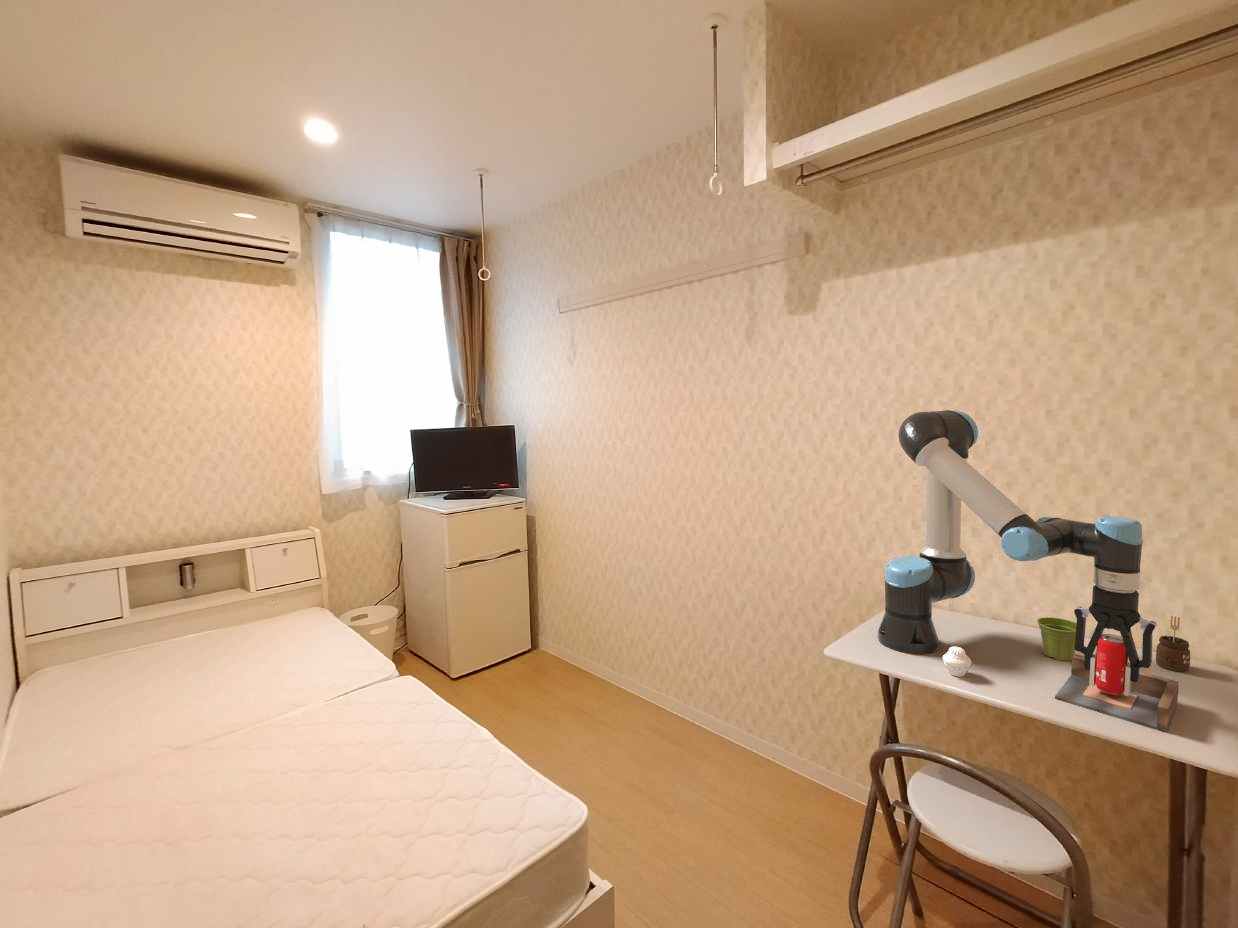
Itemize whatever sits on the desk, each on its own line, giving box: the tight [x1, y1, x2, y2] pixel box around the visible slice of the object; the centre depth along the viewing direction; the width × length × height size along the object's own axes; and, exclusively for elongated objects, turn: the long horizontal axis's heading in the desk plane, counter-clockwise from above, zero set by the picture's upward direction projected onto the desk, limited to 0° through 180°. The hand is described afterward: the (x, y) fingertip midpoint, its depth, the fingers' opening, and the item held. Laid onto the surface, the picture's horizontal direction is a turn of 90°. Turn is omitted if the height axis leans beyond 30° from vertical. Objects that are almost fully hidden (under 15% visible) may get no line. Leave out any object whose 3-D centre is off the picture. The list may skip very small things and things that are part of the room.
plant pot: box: [1036, 616, 1077, 662], centre depth 144 cm, size 9×9×9 cm
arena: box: [1054, 654, 1180, 734], centre depth 122 cm, size 18×16×5 cm
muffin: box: [942, 646, 972, 678], centre depth 137 cm, size 6×6×7 cm
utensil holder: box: [1155, 615, 1191, 673], centre depth 136 cm, size 6×6×12 cm
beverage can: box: [1095, 633, 1129, 695], centre depth 123 cm, size 5×5×12 cm
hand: (1109, 688), depth 123 cm, fingers open, 5 cm apart
